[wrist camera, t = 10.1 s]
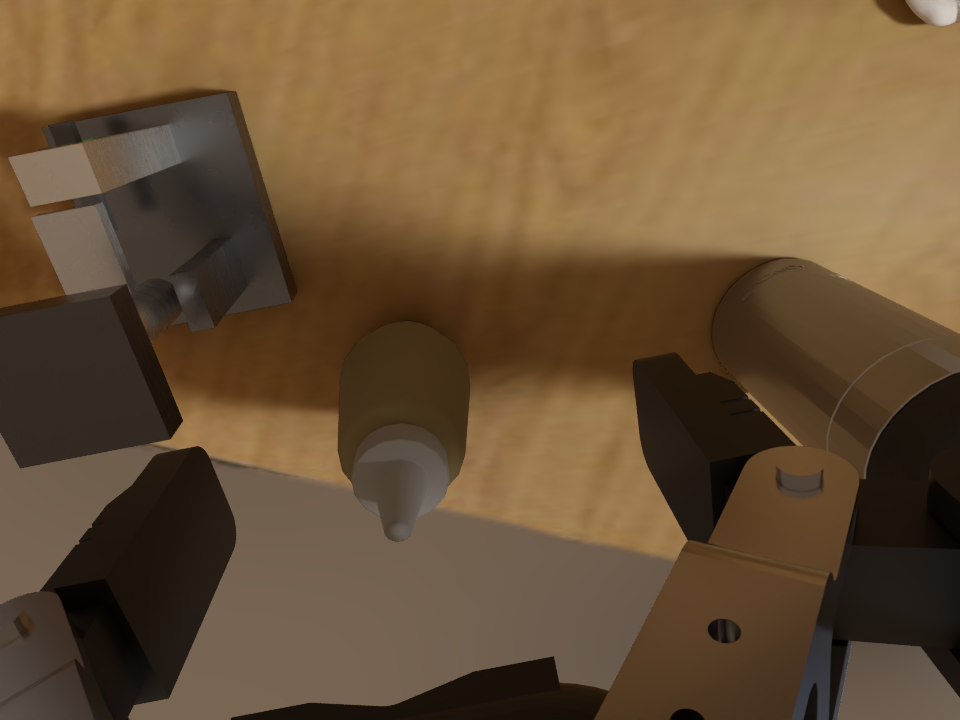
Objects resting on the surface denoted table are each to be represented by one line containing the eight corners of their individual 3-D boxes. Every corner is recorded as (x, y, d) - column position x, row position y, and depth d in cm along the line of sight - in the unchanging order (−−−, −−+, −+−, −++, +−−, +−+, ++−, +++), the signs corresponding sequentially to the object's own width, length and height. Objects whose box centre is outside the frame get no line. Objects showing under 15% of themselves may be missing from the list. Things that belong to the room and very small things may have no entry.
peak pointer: (118, 229, 35) (113, 231, 34) (99, 232, 35) (94, 235, 34) (74, 120, 33) (68, 121, 32) (54, 124, 33) (47, 125, 32)
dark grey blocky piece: (235, 343, 35) (170, 439, 26) (124, 364, 35) (20, 468, 26) (179, 183, 32) (80, 230, 22) (55, 207, 32) (-93, 263, 22)
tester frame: (296, 292, 42) (253, 370, 31) (142, 322, 42) (43, 411, 31) (236, 91, 37) (158, 100, 26) (60, 124, 37) (-92, 148, 26)
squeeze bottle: (320, 356, 44) (259, 528, 27) (410, 278, 42) (402, 411, 26) (404, 434, 47) (394, 631, 30) (491, 363, 45) (530, 532, 29)
